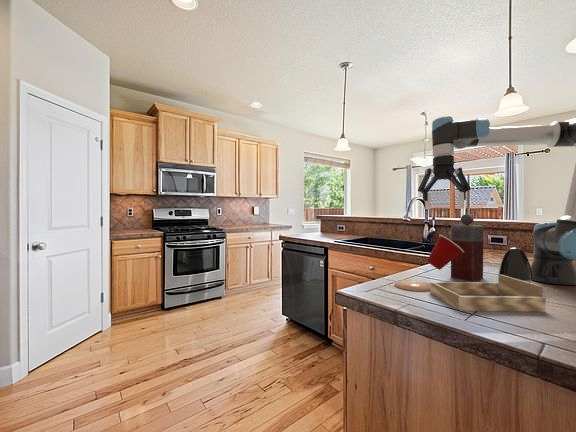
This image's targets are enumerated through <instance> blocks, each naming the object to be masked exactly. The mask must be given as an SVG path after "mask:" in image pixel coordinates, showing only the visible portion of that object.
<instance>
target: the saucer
mask: <svg viewBox="0 0 576 432" xmlns="http://www.w3.org/2000/svg"><path fill="white" fill-rule="evenodd" d="M394 287H396V288H399V289H401V290H406V291H409V292H410V291H411V292H430V282H429V283H428V282H425V281H418V280H405V279H403V280H402V279H401V280H397V281H395V286H394Z"/></svg>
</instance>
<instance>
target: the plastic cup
mask: <svg viewBox="0 0 576 432" xmlns="http://www.w3.org/2000/svg"><path fill="white" fill-rule="evenodd" d="M461 253H464V251H463V250H462V249H461V248H460V247H459V246H458V245H457V244H455V243H454V242H453V241H451V238H448V237H446V236H445V235H442V234H439V235H438V238H437V241H436V243H435V245H434V247H433V249H432V251H431V252H430V255H429V256H428V257H427V259H426V262H427V263H428V264H430V265H431V266H432V267H434V268H435V269H437V270H439V271H440V270H442V269H443V268H444V267H445V266H446V265H448V264H449V263H451V260H453V259H454V258H455V257H456V256H458V255H459V254H461Z"/></svg>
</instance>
